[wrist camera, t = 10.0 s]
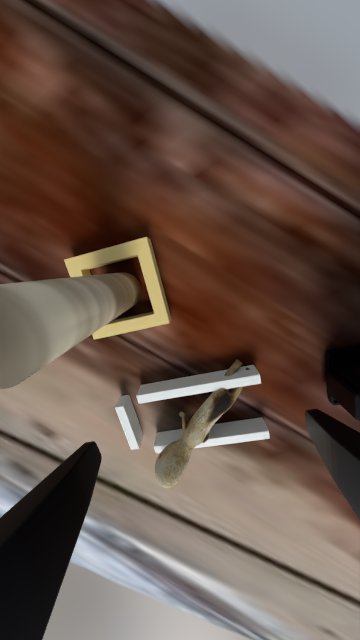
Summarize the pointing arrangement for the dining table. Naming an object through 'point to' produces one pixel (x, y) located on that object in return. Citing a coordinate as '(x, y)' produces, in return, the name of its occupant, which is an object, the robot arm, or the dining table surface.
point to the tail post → (56, 318)
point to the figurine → (194, 432)
